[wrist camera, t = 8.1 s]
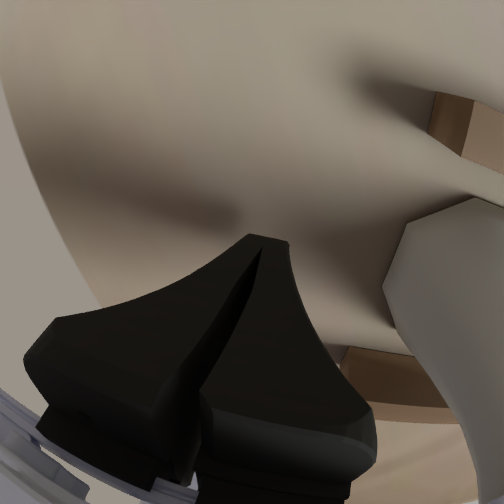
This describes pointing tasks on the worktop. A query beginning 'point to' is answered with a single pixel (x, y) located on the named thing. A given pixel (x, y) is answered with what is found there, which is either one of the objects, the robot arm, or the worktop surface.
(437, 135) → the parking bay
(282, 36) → the worktop surface
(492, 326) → the flask
